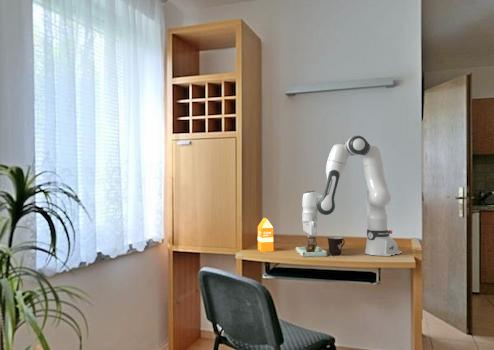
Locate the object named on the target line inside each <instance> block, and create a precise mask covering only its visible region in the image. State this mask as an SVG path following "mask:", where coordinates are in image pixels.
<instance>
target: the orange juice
mask: <svg viewBox="0 0 494 350" xmlns="http://www.w3.org/2000/svg"><path fill="white" fill-rule="evenodd" d="M259 250H260V251H259ZM257 251H259V252H260V253H267V252H266V251H273V252H274V227H273V225H272V224H271V222H270V221H269V219H268V218H266V217H263V218H262V220H261V221H260V222H259V224H258V225H257Z"/></svg>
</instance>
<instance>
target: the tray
mask: <svg viewBox="0 0 494 350" xmlns="http://www.w3.org/2000/svg"><path fill="white" fill-rule="evenodd" d="M295 252H296V253H298V254H299V255H300V256H301V257H302V258H314V257H317V258H318V257H320V258H321V257H328V251H326V250H325V249H323V248H321V247H320V246H316V249H315V252H306V248H305V246H296V247H295Z"/></svg>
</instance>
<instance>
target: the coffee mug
mask: <svg viewBox="0 0 494 350" xmlns="http://www.w3.org/2000/svg"><path fill="white" fill-rule="evenodd" d="M345 243H346V242H345V239H344V238H343V237H342V236H329V237H327V244H328V251H329V256H333V257H341V256H342V248H343V247H344V245H345Z"/></svg>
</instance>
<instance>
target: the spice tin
mask: <svg viewBox="0 0 494 350" xmlns="http://www.w3.org/2000/svg"><path fill="white" fill-rule="evenodd" d="M309 239H312V241H309ZM317 244H318V242H317V239H316V236H313V237H308V236H307V237H306V238H305V244H304V247H305V248H306V252H315V249H316V247H317V246H318V245H317ZM309 245H311V246H312V249H311V250H309Z"/></svg>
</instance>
